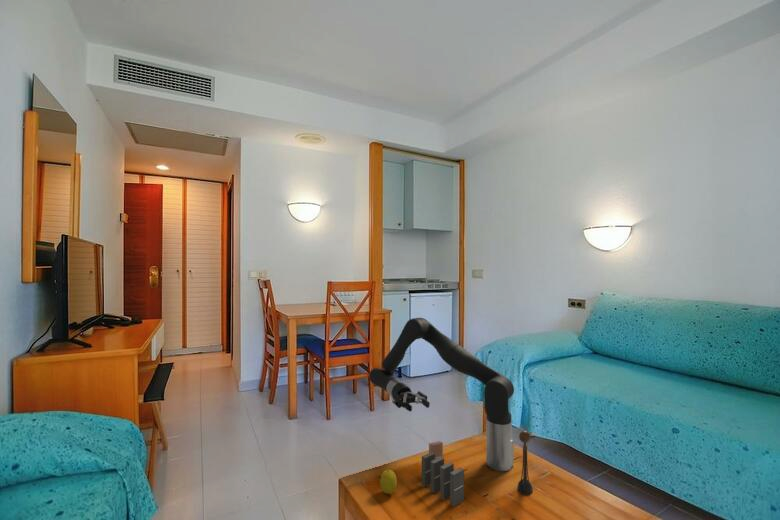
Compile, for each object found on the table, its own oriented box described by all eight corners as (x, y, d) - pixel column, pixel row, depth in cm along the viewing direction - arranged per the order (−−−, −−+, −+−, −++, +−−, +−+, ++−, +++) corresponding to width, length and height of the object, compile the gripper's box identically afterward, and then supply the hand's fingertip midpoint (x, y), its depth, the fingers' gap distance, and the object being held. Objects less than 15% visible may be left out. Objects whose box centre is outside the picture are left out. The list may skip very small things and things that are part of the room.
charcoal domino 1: (421, 485, 126) (421, 456, 126) (431, 479, 129) (431, 451, 129) (424, 487, 125) (425, 458, 125) (434, 482, 128) (435, 453, 128)
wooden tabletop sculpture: (531, 485, 126) (531, 427, 127) (538, 493, 122) (538, 433, 122) (515, 486, 125) (515, 428, 126) (521, 494, 121) (521, 434, 121)
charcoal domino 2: (430, 491, 122) (430, 461, 123) (440, 485, 126) (440, 456, 126) (434, 493, 121) (434, 463, 121) (444, 487, 124) (444, 458, 125)
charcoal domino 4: (449, 504, 116) (450, 472, 116) (460, 497, 119) (460, 467, 119) (453, 506, 115) (453, 474, 115) (463, 500, 118) (463, 469, 118)
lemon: (398, 490, 123) (398, 467, 123) (393, 500, 117) (393, 475, 118) (383, 487, 124) (383, 464, 125) (377, 497, 119) (377, 472, 119)
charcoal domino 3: (440, 497, 119) (440, 466, 119) (450, 491, 122) (450, 461, 123) (443, 500, 118) (443, 469, 118) (453, 493, 121) (453, 463, 121)
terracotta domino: (428, 470, 135) (428, 443, 135) (440, 467, 137) (440, 440, 137) (431, 472, 133) (431, 445, 134) (442, 469, 136) (442, 442, 136)
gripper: (385, 384, 153) (406, 401, 139) (412, 380, 161) (435, 395, 147) (383, 401, 154) (404, 419, 140) (411, 396, 161) (433, 413, 147)
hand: (420, 407), depth 143 cm, fingers open, 8 cm apart
